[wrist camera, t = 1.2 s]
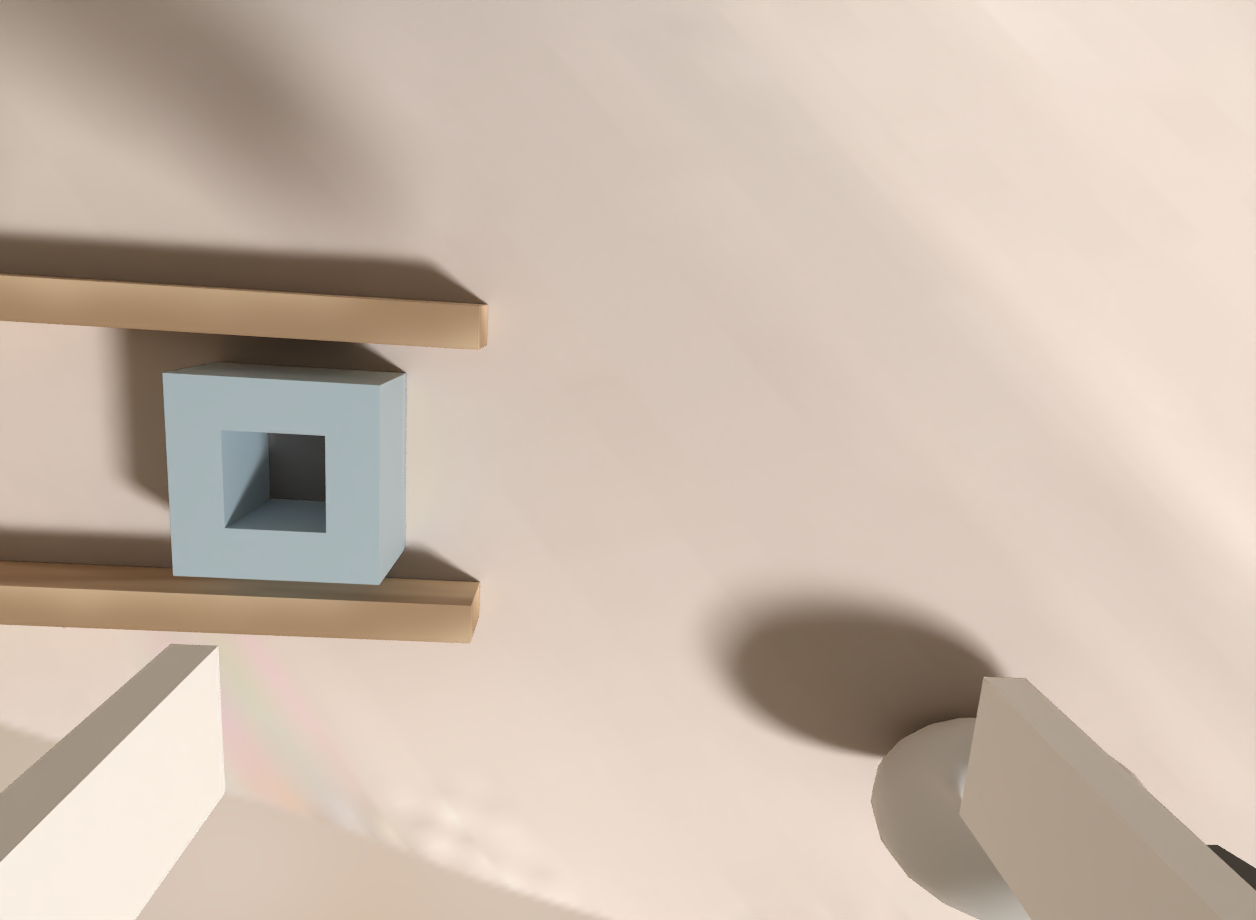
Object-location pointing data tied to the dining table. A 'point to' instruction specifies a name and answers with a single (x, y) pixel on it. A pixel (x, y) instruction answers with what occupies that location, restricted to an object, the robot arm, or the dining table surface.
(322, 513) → the block
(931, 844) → the donut
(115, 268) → the dining table surface
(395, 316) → the track
